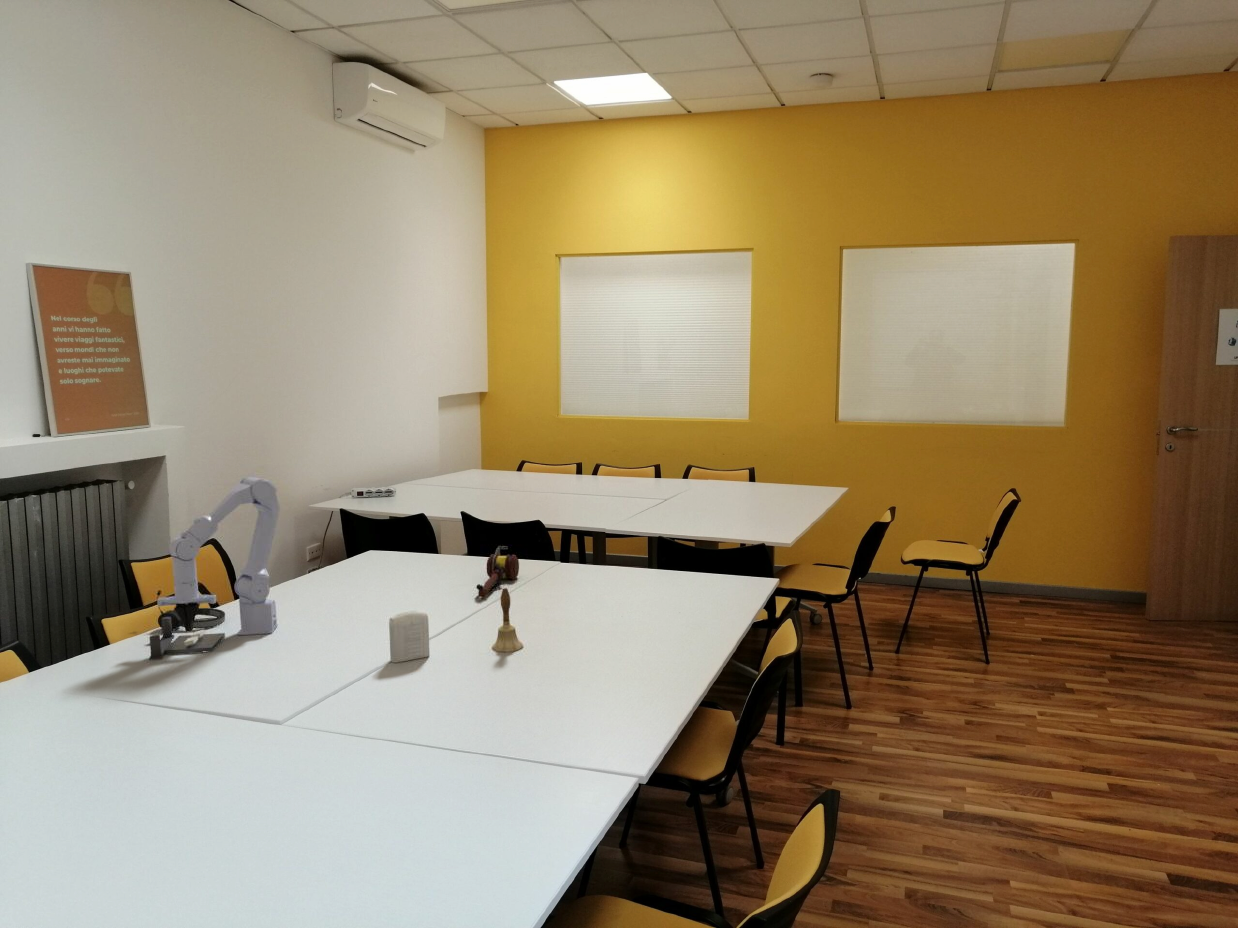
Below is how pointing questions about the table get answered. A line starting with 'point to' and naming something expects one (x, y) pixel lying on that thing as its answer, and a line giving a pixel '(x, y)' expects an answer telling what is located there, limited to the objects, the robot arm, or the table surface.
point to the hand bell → (506, 629)
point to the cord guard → (160, 645)
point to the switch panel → (202, 644)
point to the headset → (198, 624)
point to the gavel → (499, 571)
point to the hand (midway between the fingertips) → (189, 630)
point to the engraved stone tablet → (409, 636)
